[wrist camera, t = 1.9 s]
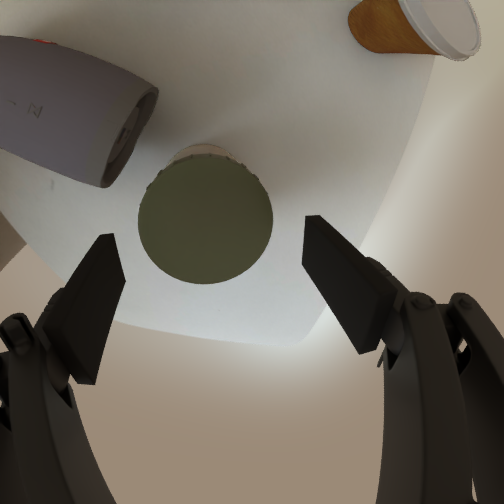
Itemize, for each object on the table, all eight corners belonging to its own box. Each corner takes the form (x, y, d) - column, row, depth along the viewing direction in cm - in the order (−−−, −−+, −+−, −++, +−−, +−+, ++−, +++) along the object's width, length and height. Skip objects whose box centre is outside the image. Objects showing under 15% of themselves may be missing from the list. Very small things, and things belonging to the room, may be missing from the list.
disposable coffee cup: (398, 80, 22) (482, 82, 12) (326, 43, 20) (404, 12, 9) (407, 20, 18) (482, 8, 8) (341, -19, 16) (407, -58, 5)
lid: (153, 274, 18) (150, 290, 17) (135, 160, 14) (127, 165, 13) (265, 263, 19) (272, 277, 18) (266, 149, 16) (275, 153, 14)
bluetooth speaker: (170, 88, 20) (151, 68, 11) (123, 178, 23) (84, 214, 14) (9, 37, 11) (-44, 25, 2) (-22, 113, 14) (-79, 125, 5)
